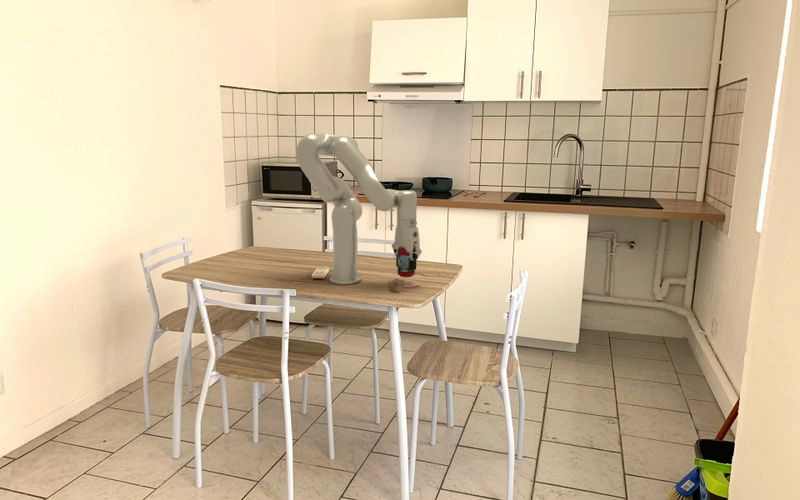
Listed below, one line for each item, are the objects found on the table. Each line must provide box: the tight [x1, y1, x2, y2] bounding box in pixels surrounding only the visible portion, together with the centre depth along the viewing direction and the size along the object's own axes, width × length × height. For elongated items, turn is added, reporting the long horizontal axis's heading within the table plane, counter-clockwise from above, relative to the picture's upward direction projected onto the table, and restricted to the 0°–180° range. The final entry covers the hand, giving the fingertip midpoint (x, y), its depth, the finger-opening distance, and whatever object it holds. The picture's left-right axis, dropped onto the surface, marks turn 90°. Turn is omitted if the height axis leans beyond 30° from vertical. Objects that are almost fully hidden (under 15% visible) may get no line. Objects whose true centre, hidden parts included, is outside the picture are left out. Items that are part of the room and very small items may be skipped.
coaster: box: [402, 279, 419, 289], centre depth 232 cm, size 10×10×1 cm
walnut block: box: [389, 278, 405, 294], centre depth 223 cm, size 4×4×4 cm
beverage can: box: [397, 246, 416, 278], centre depth 231 cm, size 7×7×12 cm
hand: (406, 267), depth 231 cm, fingers closed on beverage can, 6 cm apart
